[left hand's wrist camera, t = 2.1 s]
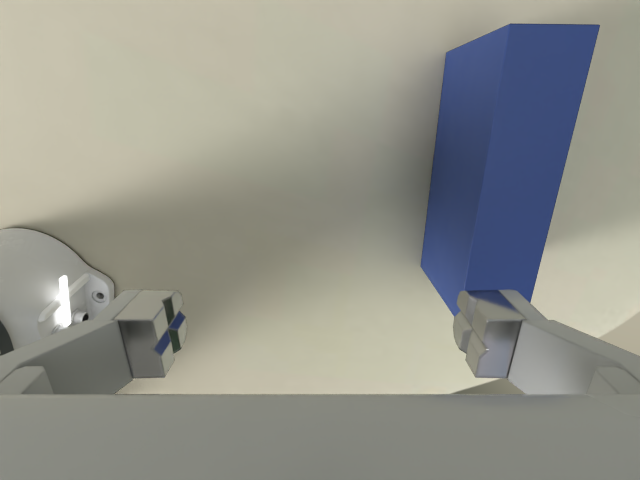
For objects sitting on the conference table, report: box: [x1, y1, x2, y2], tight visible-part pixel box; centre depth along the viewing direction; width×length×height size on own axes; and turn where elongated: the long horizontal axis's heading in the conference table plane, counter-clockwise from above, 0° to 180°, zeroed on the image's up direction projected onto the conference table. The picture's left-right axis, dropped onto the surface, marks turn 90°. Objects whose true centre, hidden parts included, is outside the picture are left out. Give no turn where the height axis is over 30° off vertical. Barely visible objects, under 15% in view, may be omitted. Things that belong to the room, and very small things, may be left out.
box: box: [421, 24, 600, 317], centre depth 32 cm, size 23×6×12 cm, turn 179°
